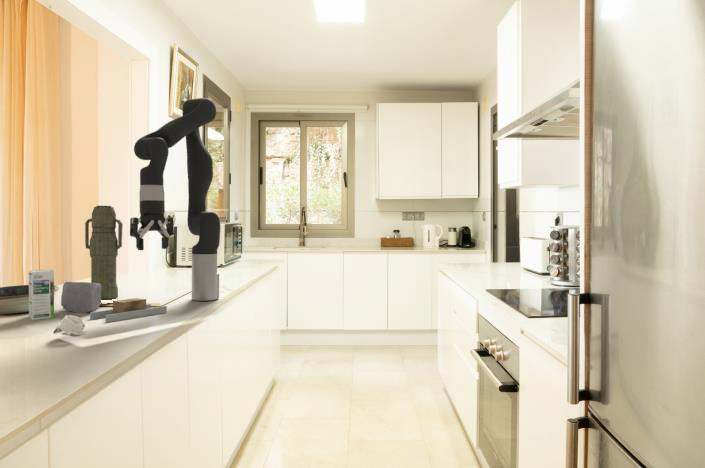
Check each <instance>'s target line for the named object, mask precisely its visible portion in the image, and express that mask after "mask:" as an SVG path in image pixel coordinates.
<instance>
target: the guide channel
mask: <svg viewBox="0 0 705 468" xmlns="http://www.w3.org/2000/svg"><path fill="white" fill-rule="evenodd" d="M167 309H168V306H165V305H161V306H156V307H152V304H151V303H146V309H142V310H135V311H129V312H122V313H116V314H113V308H112V309H103V310H98V311H97V310H96V311H93V312H89V319H90V320H99V319H104V318H105V323H112V322H117V321H122V320H124V321H125V320H130V319H136V318H142V317H148V316H153V315H160V314H165V313H168V312H167Z"/></svg>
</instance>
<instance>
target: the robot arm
mask: <svg viewBox="0 0 705 468" xmlns="http://www.w3.org/2000/svg"><path fill="white" fill-rule="evenodd" d="M181 108H182V111H181V113H182V116H180V117H176V118H174V119H172V120H169V121H168V122H166V123H165V124H164V125H162V126H161V127H160V128H158V129H157V130H155V131H153V132H150V133H148V134H146V135H143V136H141V137H140V138H138V140H136V141H135V143H134V147H133V152H134V155H135V156H136V157H137V158H138V159H140V160H142V161H149V164H148V165H147V166H145V167H142V168H141V169H140V171H139V192H138V194H139V215H140V217H130V220H129V221H130V222H129V223H130V224H129V236H130V237H133V238H135V240H136V241H135V243H136V244H135V245H136V246H135V247H136V249H137V251H144V250H145V249H144V246H145V245H144V238H143V237H144V236H145V235H146V234H147V233H148V232H156V231H157V233H159V235H161V249H162V250H167V249H169V246H170V245H169V241H170V240H169V237H171V236H174V235H175V230H174V229H175V225H174V218H173V217H166V218H165V213H166V210H165V208H166V207H165V188H164V173H165V172H164V171H165V169H166V164H167V162H168V161H167V160H168V157H169V149H170V148H173V147H174V146H175V145H176V144H177V143H180V141H182V139H183V138H185V143H186V167H187V169H186V170H187V181H188V182H187V183H188V184H187V187H188V192H187V193H188V203H187V204H188V205H187V206H188V207H187V220H186V221H187V227H188V230H189V232H190V233H191V235H193V236H199V237H198V241H197V243H196V244H195V245H193V246H192V247H191V300H192V301H198V302H199V301H200V302H201V301H214V300H215V301H216V300H217V299H220V273H218V249H219V246H220V242H221V241H220V238H221V220H220V217H219V215H218V214H217V213H215V211H207V210H206V209H207V208H206V206H207V205H206V198H207V195H208V192H209V189H210V187H211V185H212V182H213V178H214V165H213V164H214V162H213V158H212V154H211V153H210V152H209V150H208V148H207V147H206V146H205V144H204V142H203V139H202V137H201V135H200V127H203V126H205V125H207V124H209V123H211V122H212V123H213V121H214V120H215V118H216V116H217V107H216V105H215V103H214V101H212V99H210V98H209V97H208V98H207V97H200V98H191V99H187V100H185V101H184V102H183V104H182V107H181ZM139 224H140V225H141V226H140V227H139ZM164 224H165V226H164Z"/></svg>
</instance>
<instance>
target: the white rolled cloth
mask: <svg viewBox="0 0 705 468" xmlns="http://www.w3.org/2000/svg"><path fill="white" fill-rule="evenodd" d="M60 322H61V323H57V325H56V327H55V329H54V331H53V332H52V333H53V334H54V335H55V334H57V333H58V334H59V333H62V332H64V333H65V334H67V335H68V336H70V335H75V336H81V335H84V334H86V330H87V329H86V327H87V326H86V324H85V322H84V320H83V318H81V317H80V316H79V317H78V316H76V315H70V314H69V315H65V316H64V317H63V318H62V320H61V321H60Z"/></svg>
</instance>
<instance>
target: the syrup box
mask: <svg viewBox="0 0 705 468" xmlns="http://www.w3.org/2000/svg"><path fill="white" fill-rule="evenodd" d="M28 318H29V319H30V320H31V321H37V320H47V319H49V320H50V319H54V318H55V272H54V270H53V269H39V270H38V269H35V270H34V269H33V270H29V271H28Z"/></svg>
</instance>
